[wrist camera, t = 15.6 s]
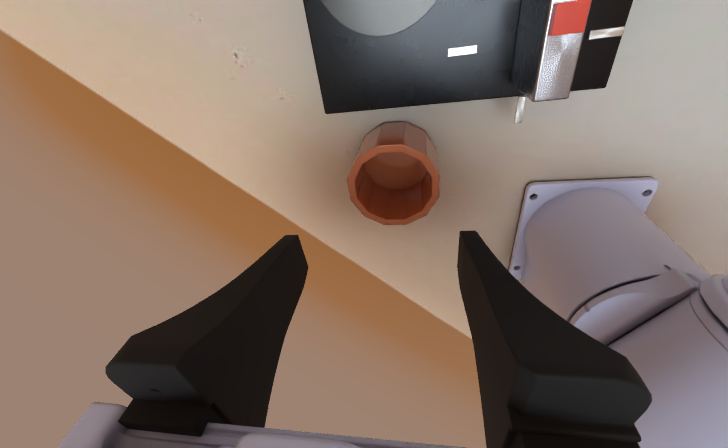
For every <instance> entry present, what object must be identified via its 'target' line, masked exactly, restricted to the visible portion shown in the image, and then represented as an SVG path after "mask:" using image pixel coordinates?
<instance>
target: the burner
mask: <svg viewBox="0 0 728 448" xmlns="http://www.w3.org/2000/svg"><path fill="white" fill-rule="evenodd" d="M321 1H322V3H323V4H324V6H325V7H326V8H327V10H328V11H329V12H330V13H331V15H332V16H333V17H334V18H335V19H336V20H338V21H339V22H340V23H341V24H342V25H344V26H345V27H347V28H349V29H350V30H352V31H355V32H357V33H359V34H363V35H367V36H388V35H392V34H396V33H398V32H401V31H403V30H405V29H407V28H409V27H411V26H412V25H414V24H415V23H416V22H418V21H419V20H420V19H421V18H422V17H423V16H424V15H425V14H427V12H428V11H429V10H430V9H431V8H432V6H433V5H434V4H435V3H436V1H437V0H321Z"/></svg>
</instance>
